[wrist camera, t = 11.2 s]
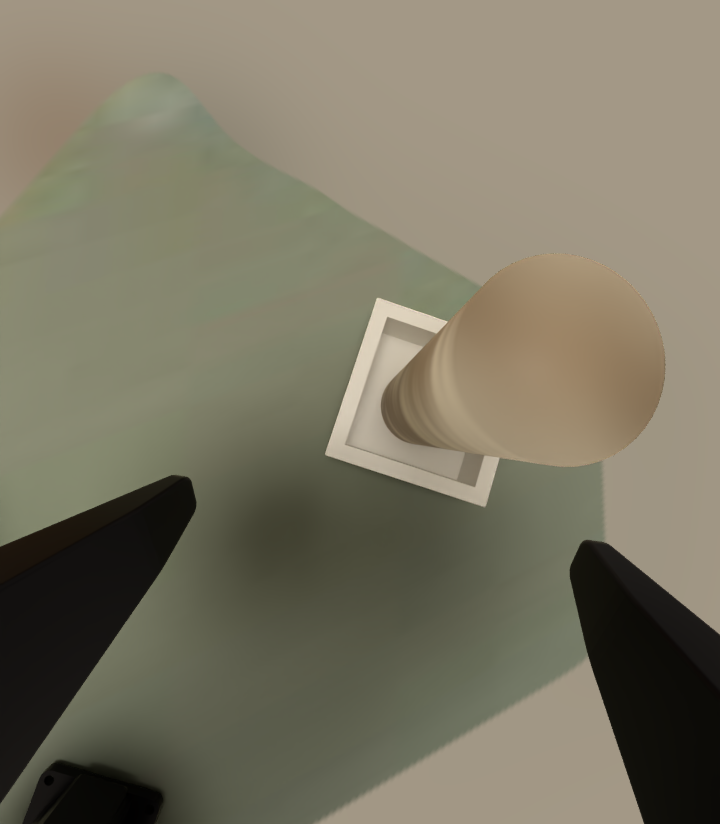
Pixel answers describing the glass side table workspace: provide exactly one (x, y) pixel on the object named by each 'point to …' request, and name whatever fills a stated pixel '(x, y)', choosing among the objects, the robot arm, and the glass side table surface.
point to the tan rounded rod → (536, 368)
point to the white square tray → (366, 430)
